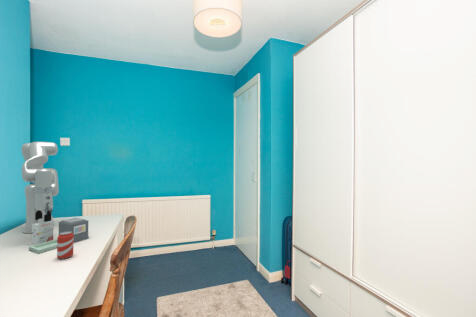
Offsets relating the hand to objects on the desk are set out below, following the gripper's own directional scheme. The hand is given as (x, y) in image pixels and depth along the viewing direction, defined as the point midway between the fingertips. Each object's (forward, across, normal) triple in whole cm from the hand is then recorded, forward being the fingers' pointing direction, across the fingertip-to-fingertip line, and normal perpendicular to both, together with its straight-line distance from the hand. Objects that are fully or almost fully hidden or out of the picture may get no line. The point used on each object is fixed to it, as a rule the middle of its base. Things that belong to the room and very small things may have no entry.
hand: (43, 220), depth 130 cm
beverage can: (+14, -32, +5) cm, 35 cm away
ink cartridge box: (+13, +1, 0) cm, 13 cm away
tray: (+13, -11, +2) cm, 17 cm away
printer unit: (+13, -9, -11) cm, 19 cm away
